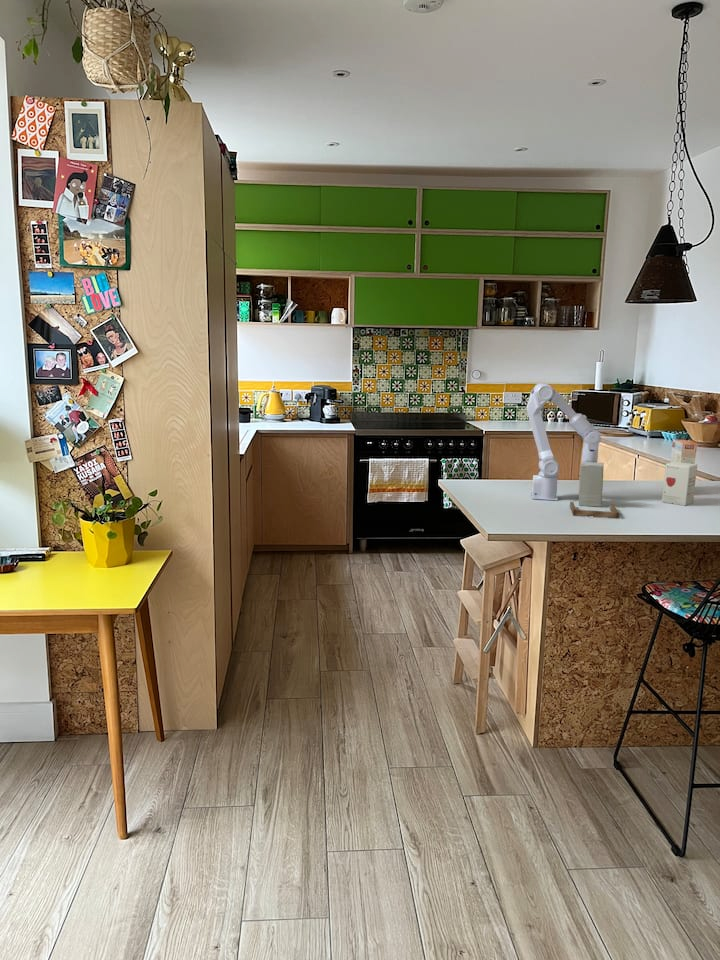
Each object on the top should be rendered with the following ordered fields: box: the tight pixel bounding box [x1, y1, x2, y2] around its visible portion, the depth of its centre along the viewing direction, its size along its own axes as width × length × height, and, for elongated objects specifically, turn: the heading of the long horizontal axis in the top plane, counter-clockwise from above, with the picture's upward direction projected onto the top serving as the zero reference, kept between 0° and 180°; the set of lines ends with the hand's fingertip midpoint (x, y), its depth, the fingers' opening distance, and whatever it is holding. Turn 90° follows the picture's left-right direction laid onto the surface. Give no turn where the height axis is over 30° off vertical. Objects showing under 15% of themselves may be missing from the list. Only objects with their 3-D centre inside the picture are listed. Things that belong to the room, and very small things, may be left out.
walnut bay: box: [569, 501, 620, 519], centre depth 251 cm, size 15×14×2 cm
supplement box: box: [661, 461, 698, 506], centre depth 270 cm, size 9×9×15 cm
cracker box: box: [670, 438, 698, 464], centre depth 291 cm, size 14×6×21 cm, turn 171°
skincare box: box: [578, 461, 605, 508], centre depth 262 cm, size 8×7×16 cm
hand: (586, 495), depth 272 cm, fingers open, 7 cm apart
